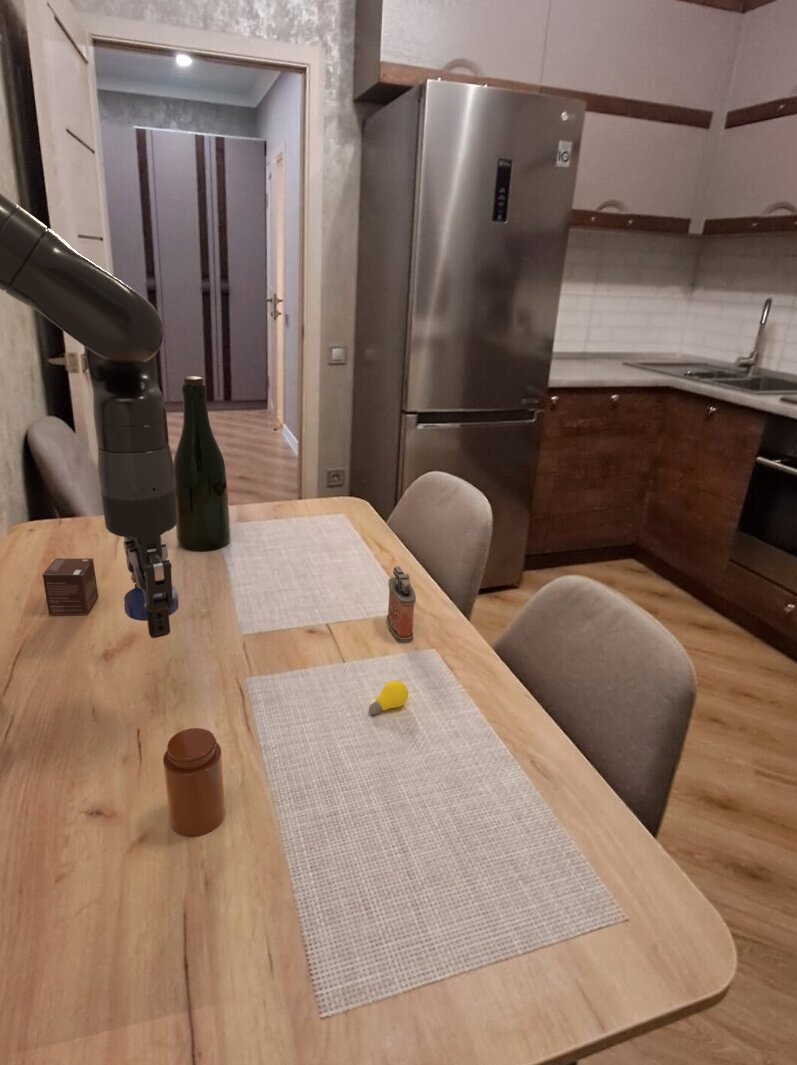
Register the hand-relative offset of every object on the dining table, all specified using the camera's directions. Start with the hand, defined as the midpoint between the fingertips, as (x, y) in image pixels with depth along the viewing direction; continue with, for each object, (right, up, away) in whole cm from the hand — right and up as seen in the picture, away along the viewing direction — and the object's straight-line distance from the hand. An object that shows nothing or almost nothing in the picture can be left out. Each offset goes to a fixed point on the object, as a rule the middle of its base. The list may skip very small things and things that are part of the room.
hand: (153, 622), depth 78 cm
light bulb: (+27, -13, +10) cm, 32 cm away
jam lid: (0, +3, -1) cm, 3 cm away
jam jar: (+8, -19, -8) cm, 22 cm away
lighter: (+29, -5, +29) cm, 41 cm away
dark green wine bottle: (-11, +8, +57) cm, 59 cm away
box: (-24, -2, +31) cm, 39 cm away
